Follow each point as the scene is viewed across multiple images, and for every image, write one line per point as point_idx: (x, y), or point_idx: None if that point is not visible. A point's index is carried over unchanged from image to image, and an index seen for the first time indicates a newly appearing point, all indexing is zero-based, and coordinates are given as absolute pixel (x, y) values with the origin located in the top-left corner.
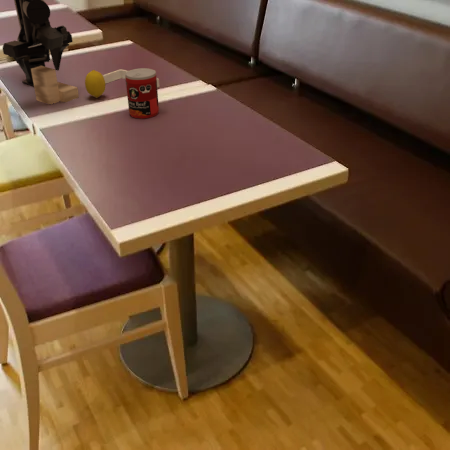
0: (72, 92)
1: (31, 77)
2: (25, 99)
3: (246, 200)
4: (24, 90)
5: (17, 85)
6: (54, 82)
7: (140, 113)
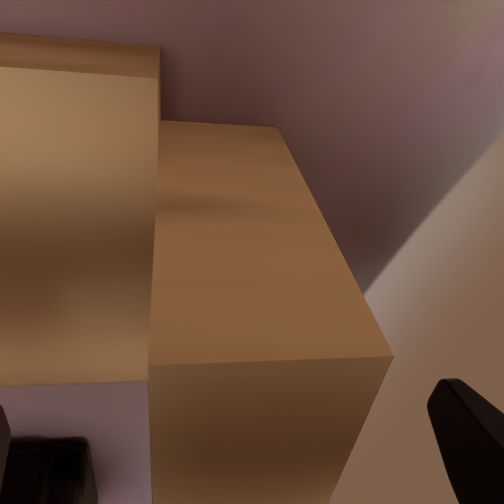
0: (15, 54)
1: (457, 390)
2: None
3: None
4: None
5: (137, 490)
6: (204, 225)
7: None
